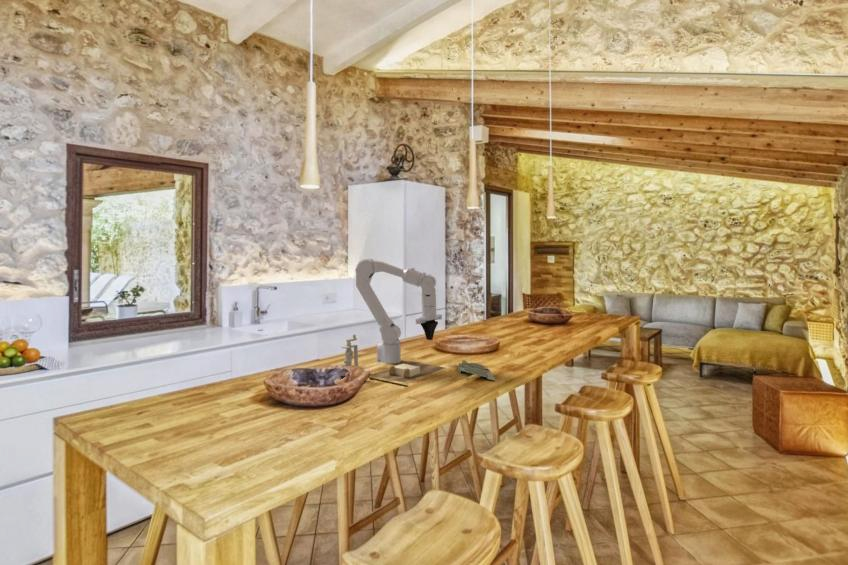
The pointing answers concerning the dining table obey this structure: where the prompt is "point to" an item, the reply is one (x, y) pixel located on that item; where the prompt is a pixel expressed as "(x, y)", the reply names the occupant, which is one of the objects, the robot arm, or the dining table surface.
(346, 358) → the clamp
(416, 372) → the cream rectangular block
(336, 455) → the dining table surface
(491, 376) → the metal bracket
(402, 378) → the bench board
